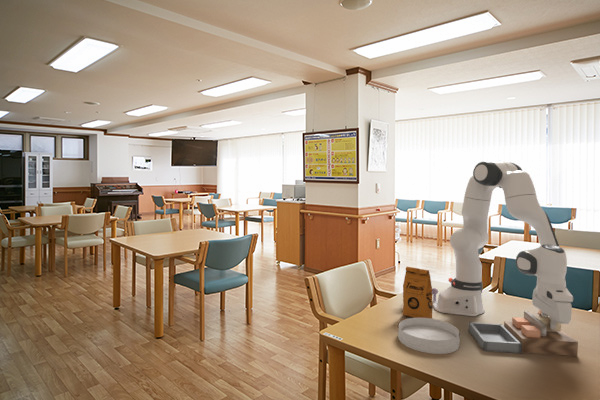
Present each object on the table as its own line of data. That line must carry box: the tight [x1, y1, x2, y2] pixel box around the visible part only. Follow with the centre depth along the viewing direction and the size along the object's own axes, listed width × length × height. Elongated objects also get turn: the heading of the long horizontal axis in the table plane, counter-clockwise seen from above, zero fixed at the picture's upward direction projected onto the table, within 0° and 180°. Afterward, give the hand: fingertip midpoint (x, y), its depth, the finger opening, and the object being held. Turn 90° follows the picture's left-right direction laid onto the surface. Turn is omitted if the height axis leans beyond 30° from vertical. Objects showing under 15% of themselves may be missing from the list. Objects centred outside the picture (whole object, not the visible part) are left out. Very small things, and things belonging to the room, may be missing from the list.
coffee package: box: [402, 266, 434, 319], centre depth 164 cm, size 10×12×22 cm
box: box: [468, 321, 522, 354], centre depth 140 cm, size 12×18×4 cm
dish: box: [397, 317, 461, 355], centre depth 141 cm, size 22×22×5 cm
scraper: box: [523, 310, 562, 336], centre depth 137 cm, size 9×14×4 cm, turn 172°
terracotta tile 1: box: [521, 325, 541, 338], centre depth 134 cm, size 4×4×2 cm
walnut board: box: [503, 321, 579, 357], centre depth 138 cm, size 18×16×5 cm
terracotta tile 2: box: [511, 316, 530, 328], centre depth 142 cm, size 4×4×2 cm
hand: (549, 326), depth 137 cm, fingers closed on scraper, 3 cm apart
